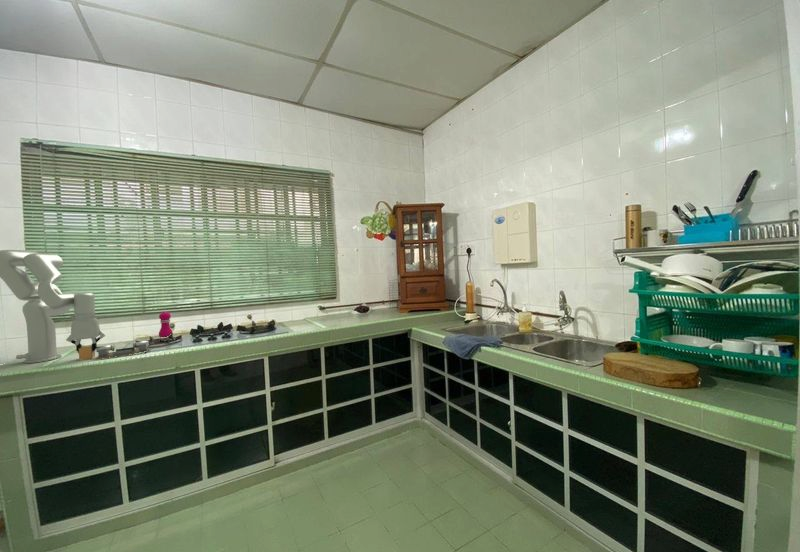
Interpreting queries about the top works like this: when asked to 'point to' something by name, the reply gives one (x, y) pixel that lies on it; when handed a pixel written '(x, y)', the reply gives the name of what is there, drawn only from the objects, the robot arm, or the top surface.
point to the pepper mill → (165, 324)
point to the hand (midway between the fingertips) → (86, 351)
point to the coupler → (86, 352)
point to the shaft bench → (121, 350)
